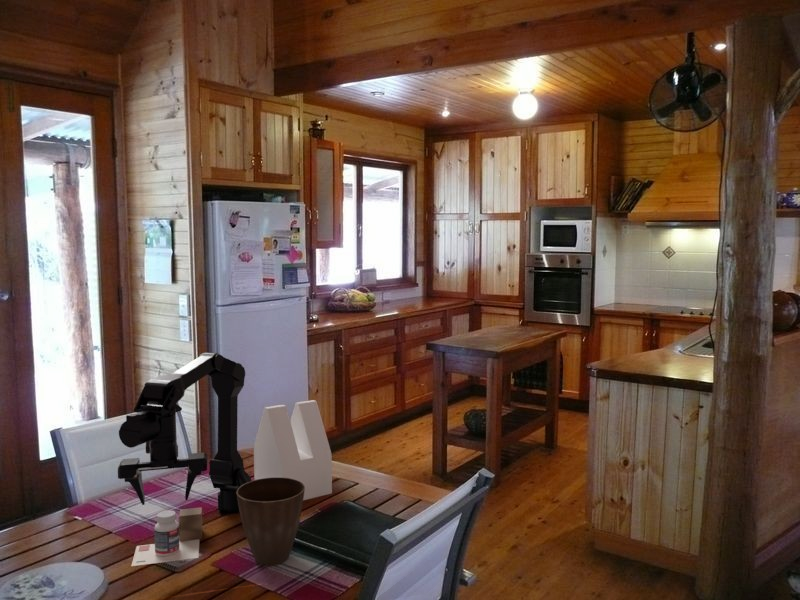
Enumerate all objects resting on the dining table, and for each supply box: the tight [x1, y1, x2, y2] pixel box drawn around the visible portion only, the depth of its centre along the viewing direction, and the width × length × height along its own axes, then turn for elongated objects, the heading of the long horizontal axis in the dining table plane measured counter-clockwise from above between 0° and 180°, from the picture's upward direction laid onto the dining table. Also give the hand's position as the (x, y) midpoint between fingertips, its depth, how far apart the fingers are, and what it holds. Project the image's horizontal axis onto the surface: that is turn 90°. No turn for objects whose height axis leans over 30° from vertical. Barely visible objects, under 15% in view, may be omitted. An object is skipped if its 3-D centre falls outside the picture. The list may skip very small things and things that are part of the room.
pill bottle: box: [154, 510, 180, 556], centre depth 147 cm, size 5×5×9 cm
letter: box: [130, 539, 201, 567], centre depth 148 cm, size 14×10×1 cm
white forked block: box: [253, 399, 333, 501], centre depth 186 cm, size 19×15×25 cm
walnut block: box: [178, 507, 203, 542], centre depth 156 cm, size 5×5×6 cm
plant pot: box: [236, 477, 305, 567], centre depth 145 cm, size 15×15×16 cm
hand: (165, 502), depth 147 cm, fingers open, 9 cm apart
